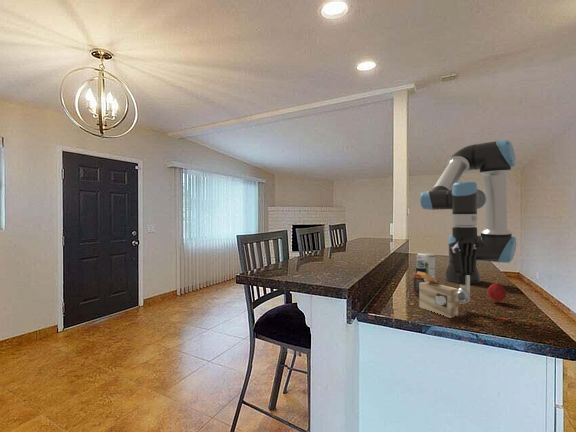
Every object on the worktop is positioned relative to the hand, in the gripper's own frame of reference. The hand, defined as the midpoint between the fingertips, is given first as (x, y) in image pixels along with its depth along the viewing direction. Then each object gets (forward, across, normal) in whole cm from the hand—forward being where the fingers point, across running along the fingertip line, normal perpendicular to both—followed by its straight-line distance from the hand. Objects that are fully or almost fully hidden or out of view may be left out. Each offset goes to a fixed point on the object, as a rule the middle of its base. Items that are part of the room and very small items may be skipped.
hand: (464, 293), depth 107 cm
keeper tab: (-5, -11, +6) cm, 14 cm away
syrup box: (+6, +17, +30) cm, 35 cm away
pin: (+3, -7, 0) cm, 8 cm away
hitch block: (+6, -10, +3) cm, 12 cm away
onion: (+6, +17, -1) cm, 18 cm away
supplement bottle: (+6, +2, +20) cm, 21 cm away
